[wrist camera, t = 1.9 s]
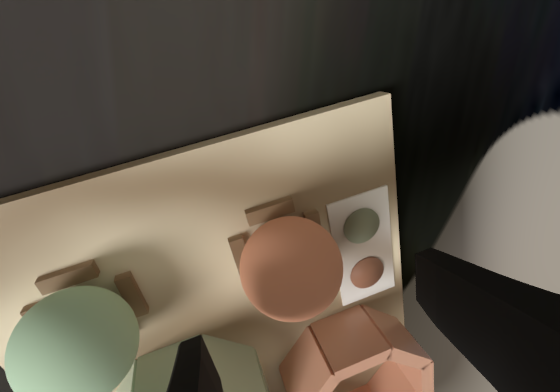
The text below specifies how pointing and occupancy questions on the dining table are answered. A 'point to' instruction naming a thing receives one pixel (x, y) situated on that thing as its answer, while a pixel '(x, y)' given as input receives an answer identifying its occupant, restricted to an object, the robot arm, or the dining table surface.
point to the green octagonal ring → (227, 359)
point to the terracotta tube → (357, 354)
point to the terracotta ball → (291, 269)
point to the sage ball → (73, 343)
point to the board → (215, 230)
